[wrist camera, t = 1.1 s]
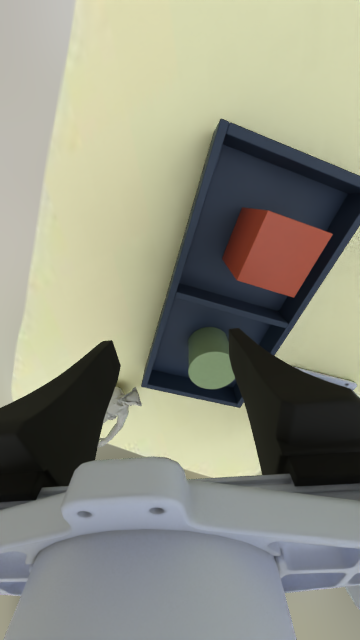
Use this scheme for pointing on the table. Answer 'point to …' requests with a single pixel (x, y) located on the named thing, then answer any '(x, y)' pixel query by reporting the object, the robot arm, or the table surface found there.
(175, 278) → the tray
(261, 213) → the red block
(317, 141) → the table surface
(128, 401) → the soldier figure
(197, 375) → the pale green cylinder
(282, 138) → the table surface
